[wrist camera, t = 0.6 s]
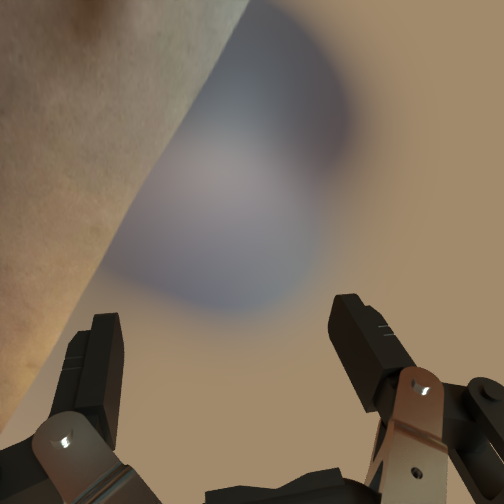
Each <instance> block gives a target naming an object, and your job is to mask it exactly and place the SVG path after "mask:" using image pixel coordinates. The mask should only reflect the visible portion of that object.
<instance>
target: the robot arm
mask: <svg viewBox="0 0 504 504" xmlns="http://www.w3.org/2000/svg"><path fill="white" fill-rule="evenodd" d="M328 333H329V338H330V340H331V342H332V344H333V346H334V348H335V350H336V352H337V354H338V356H339V358H340V360H341V362H342V364H343V367H344V369H345V371H346V373H347V375H348V377H349V379H350V381H351V383H352V385H353V387H354V389H355V391H356V393H357V395H358V397H359V399H360V401H361V403H362V405H363V407H364V409H365V411H366V413H369V412H375V411H378V413H379V415H380V417H381V418H380V420H379V424H378V428H377V433H376V438H375V442H374V447H373V452H372V457H371V461H370V466H369V470H368V473H367V476H366V479H365V482H364V484H362V483H360V482H357V481H355V480H351V479H347V478H343V477H342V475H341V472H340V469H339V468H332V469H327V470H321V471H316V472H310V473H307V474H305V475H303V476H301V477H300V478H297V479H295V480H294V481H291V482H290V483H288V484H286V485H284V486H282V487H280V488H277V489H269V488H260V487H250V486H234V487H229V488H223V489H218V490H212V491H207V492H205V503H203V504H446V493H447V466H448V455H449V457H450V459H451V461H452V462H453V464H454V466H455V468H456V470H457V471H458V473H459V475H460V477H461V478H462V480H463V482H464V484H465V486H466V487H467V489H468V491H469V492H470V494H471V496H472V498H473V500H474V501H475V503H476V504H504V464H503V462H504V387H503V386H502V385H501V384H499V383H497V382H496V381H493V380H491V379H488V378H484V377H477V378H473V379H472V380H471V381H470V382H469V383H468V385H467V386H461V385H454V384H448V383H443V382H441V381H440V380H439V379H438V378H437V377H436V376H435V375H434V374H433V373H431V372H430V371H428V370H426V369H424V368H421V367H417V366H416V364H415V363H414V362H413V360H412V359H411V357H410V356H409V354H408V353H407V351H406V350H405V348H404V347H403V345H402V344H401V343H400V341H399V340H398V338H397V337H396V336H395V335H394V332H393V331H392V330H391V328H390V327H388V324H387V322H386V321H385V319H384V318H383V316H382V315H381V314H380V313H379V312H377V311H376V310H375V309H374V308H372V307H371V306H370V305H369V306H365V305H364V304H363V302H362V301H361V299H360V298H359V296H358V295H357V294H354V293H353V294H342V295H336V296H335V298H334V301H333V305H332V309H331V314H330V317H329V321H328ZM123 366H124V342H123V337H122V331H121V326H120V320H119V315H118V313H105V314H95V315H94V318H93V322H92V327H91V330H86V331H78V332H77V334H76V335H75V336H74V337H73V339H72V340H71V341H70V343H69V344H68V348H67V352H66V355H65V360H64V363H63V366H62V371H61V374H60V378H59V382H58V385H57V389H56V393H55V397H54V400H53V404H52V408H51V412H50V414H49V417H48V419H47V420H46V421H45V422H43V423H42V424H41V425H40V427H39V428H38V429H37V431H36V432H35V434H33V435H32V436H30V437H29V438H27V439H26V440H24V441H22V442H20V443H17V444H15V445H12V446H10V447H8V448H5V449H3V450H0V504H162V503H161V501H160V500H159V499H158V498H157V497H156V495H155V494H154V493H153V492H152V491H151V489H150V488H149V487H148V486H147V484H146V483H145V482H144V481H143V479H142V478H141V477H140V476H139V475H138V474H137V472H136V471H135V470H134V469H133V468H132V467H131V466H130V465H124V464H123V463H122V462H121V461H120V460H119V458H118V457H117V456H116V455H115V453H114V452H113V451H114V450H115V446H116V436H117V426H118V416H119V406H120V396H121V387H122V386H121V385H122V376H123ZM490 443H491V444H492V446H493V447H494V449H495V450H496V452H497V453H498V454H499V456H500V457H501V459H502V460H503V462H502V461H501V459H500V458H499V456H498V455H497V453H496V452H495V450H494V449H493V447H492V446H491V444H490Z"/></svg>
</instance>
